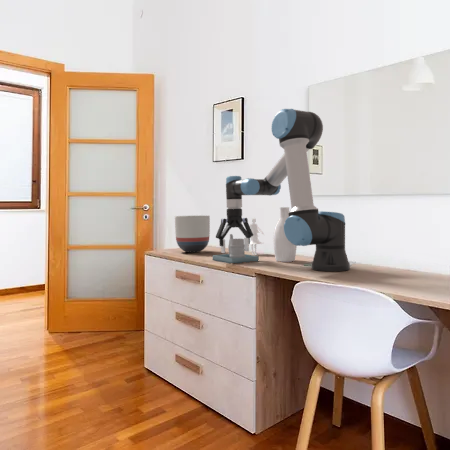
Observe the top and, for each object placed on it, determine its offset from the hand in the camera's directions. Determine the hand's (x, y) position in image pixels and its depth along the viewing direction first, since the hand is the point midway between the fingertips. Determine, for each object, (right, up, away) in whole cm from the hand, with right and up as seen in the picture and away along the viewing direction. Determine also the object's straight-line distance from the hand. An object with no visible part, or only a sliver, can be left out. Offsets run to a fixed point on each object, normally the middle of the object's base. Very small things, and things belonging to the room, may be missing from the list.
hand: (235, 252), depth 205 cm
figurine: (+12, -3, +25) cm, 28 cm away
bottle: (+24, -4, -4) cm, 24 cm away
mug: (0, -4, 0) cm, 4 cm away
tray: (0, -4, 0) cm, 4 cm away
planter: (-24, -3, +44) cm, 50 cm away
